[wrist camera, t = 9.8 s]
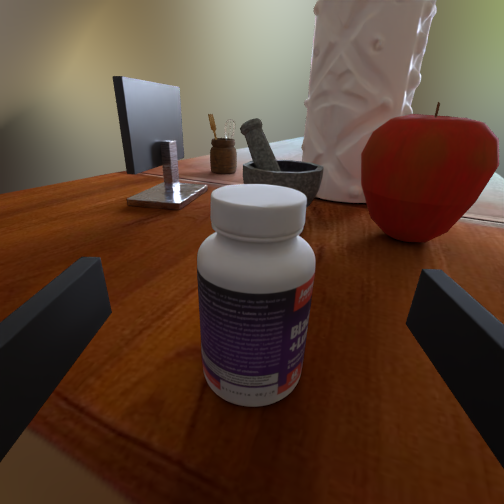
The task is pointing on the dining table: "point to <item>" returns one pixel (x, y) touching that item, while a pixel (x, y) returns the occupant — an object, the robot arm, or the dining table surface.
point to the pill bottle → (255, 293)
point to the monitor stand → (168, 185)
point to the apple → (426, 173)
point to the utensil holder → (222, 153)
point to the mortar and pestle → (277, 165)
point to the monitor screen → (147, 121)
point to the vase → (359, 82)
